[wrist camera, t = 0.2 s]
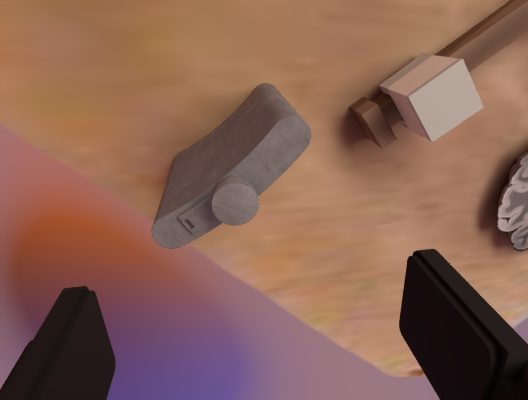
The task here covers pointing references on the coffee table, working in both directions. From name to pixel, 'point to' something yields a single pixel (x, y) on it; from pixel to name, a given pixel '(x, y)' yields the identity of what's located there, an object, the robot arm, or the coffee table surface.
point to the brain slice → (515, 205)
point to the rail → (466, 47)
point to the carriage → (433, 94)
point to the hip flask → (230, 168)
